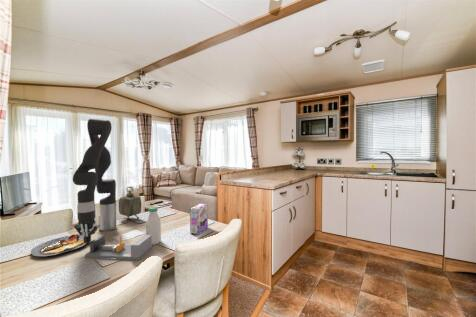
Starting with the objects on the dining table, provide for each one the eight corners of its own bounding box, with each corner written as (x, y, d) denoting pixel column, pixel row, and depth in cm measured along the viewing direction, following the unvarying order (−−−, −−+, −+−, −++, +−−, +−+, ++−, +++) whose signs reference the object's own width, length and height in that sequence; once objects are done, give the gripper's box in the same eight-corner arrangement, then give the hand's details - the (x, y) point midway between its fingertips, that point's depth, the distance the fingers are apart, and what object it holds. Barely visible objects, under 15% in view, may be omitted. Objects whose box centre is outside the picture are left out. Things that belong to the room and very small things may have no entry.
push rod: (90, 252, 105) (89, 241, 105) (102, 245, 113) (101, 235, 113) (112, 253, 104) (112, 243, 104) (122, 246, 112) (122, 236, 112)
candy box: (198, 235, 131) (197, 209, 130) (189, 233, 133) (189, 208, 132) (208, 227, 144) (208, 203, 144) (200, 226, 146) (200, 202, 145)
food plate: (84, 234, 132) (83, 228, 131) (97, 245, 117) (96, 239, 117) (28, 250, 112) (27, 243, 112) (35, 265, 98) (34, 258, 97)
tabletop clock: (141, 218, 162) (141, 186, 161) (131, 222, 153) (130, 188, 152) (128, 216, 168) (127, 185, 167) (118, 219, 159) (117, 187, 158)
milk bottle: (163, 240, 123) (163, 206, 122) (154, 246, 116) (154, 210, 115) (153, 238, 126) (152, 205, 125) (143, 244, 118) (142, 209, 118)
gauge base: (85, 257, 104) (84, 242, 103) (103, 246, 115) (102, 233, 115) (138, 260, 101) (138, 245, 100) (151, 249, 113) (151, 235, 112)
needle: (116, 252, 106) (116, 236, 105) (122, 247, 110) (122, 232, 110) (118, 252, 105) (117, 236, 105) (124, 247, 110) (124, 232, 110)
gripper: (103, 208, 112) (104, 240, 113) (80, 207, 113) (81, 239, 114) (92, 212, 105) (93, 246, 105) (68, 211, 106) (69, 245, 107)
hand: (87, 242), depth 110 cm, fingers closed
